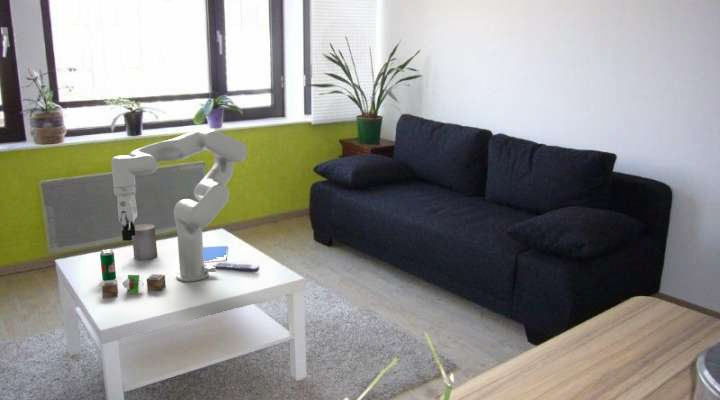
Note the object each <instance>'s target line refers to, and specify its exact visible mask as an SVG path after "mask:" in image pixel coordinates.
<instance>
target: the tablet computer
mask: <svg viewBox="0 0 720 400" xmlns="http://www.w3.org/2000/svg"><path fill="white" fill-rule="evenodd" d="M227 247H228V246H227V245H224V246H220V245H219V246H218V245H217V246H203V256H204V261H209V260H213V259H217V258H216V257H224V255H227V256H228V254H227Z"/></svg>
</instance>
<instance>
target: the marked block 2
mask: <svg viewBox="0 0 720 400" xmlns="http://www.w3.org/2000/svg"><path fill="white" fill-rule="evenodd" d="M166 287H167V286H166V275H165V274H158V273H157V274H155V273H152V274H151V275H149V276H148V277H147V278H146V291H147V292H157V293H158V292H159V293H161V291H163V290H164V289H165V288H166Z"/></svg>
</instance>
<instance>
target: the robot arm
mask: <svg viewBox="0 0 720 400" xmlns="http://www.w3.org/2000/svg"><path fill="white" fill-rule="evenodd" d="M204 151H207V152H211V153H213V154H214V160H213V161H214V163H213V165H212V167H211V168H210V170H209V171H208V172H207V173H206V174H205V175H204V176H203V178H202V179H201V180H200V181H199V182H198V184H197V185H196V186H195V187H194V190H193V195H194V198H195V199H196V200H194V199H190V198H184V199H181V200H178V201H177V203H176V204H175V205H174V208H173V218H174V221H175V225H176V226H175V227H176V232H177V234H176V235H177V246H178V248H177V249H178V250H177V251H178V264H179V271H178V272H177V273H175V278H176V279H177V280H178V281H181V282H197V281H201V279H202V280H204V279H206V278H208V276H209V273H216V269H217V268H216V266H213V265H207V264H206V262H204V256H203V247H204V244H203V243H204V242H203V229H204V228H205V227H208V226H209V225H210V223H212V221H213V220H214V219H215V218H216V217H217V215H218V214H219V213H220V212H221V211H222V210H223V209H224V207H225V206H226V205H227V204H228V201H229V199H230V190H229V188H228V187H227V184H228V182H229V181H230V180H231V179H232V176H233V174H234V164H236V163H242V162H244V161H245V160H246V158H247V156H248V148H247V147H246V145H245V144H244V143H243V142H242V141H240V140H238V139H235V138H233V137H231V136H229V135H227V134H225V133H223V132H222V131H219V130H216V129H212V128H207V127H201V128H197V129H195V130H192V131H189V132H188V133H185V134H183V135H182V134H181V135H180V136H177V137H174V138H172V139H168V140H167V139H166V140H164V141H163V140H162V141H159V142H155V143H151V144H148V145H145V146H142V147H140V148H137V149H134V150H132V151H131V152H130V153H128V155H126V154H125V155H117V156H113V157H112V158H111V161H110V162H111V174H112V185H113V195H114V196H116V197H117V198H116V200H117V202H116V203H117V216H118V217H117V218H118V221H119V222H120V224H121V235H122V241H123V242H124V241H128V242H129V241H133V240H132V236H135V220H136V218H137V217H138V207H137V200H136V194H137V185H136V176H137V175H138V176H140V175H141V176H143V175H145V176H146V175H147V176H148V175H152V174H153V173H155V172H156V171H157V170H158V167H159V163H161V162H169V161H170V162H176V161H183V160H186V159H187V158H189V157H192V156H195V155H197V154H199V153H202V152H204ZM197 200H198V201H197Z"/></svg>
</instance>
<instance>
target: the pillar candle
mask: <svg viewBox="0 0 720 400" xmlns="http://www.w3.org/2000/svg"><path fill="white" fill-rule="evenodd" d="M134 225H135V224H134ZM131 241H132V248H133V258H134V259H135V260H137V261H144V260H145V261H146V260H152V259H154V258H156V257H157V256H158V247H157V237H156V228H155V225H154V224H152V223H140V224H136V225H135V236H132V240H131Z"/></svg>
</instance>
